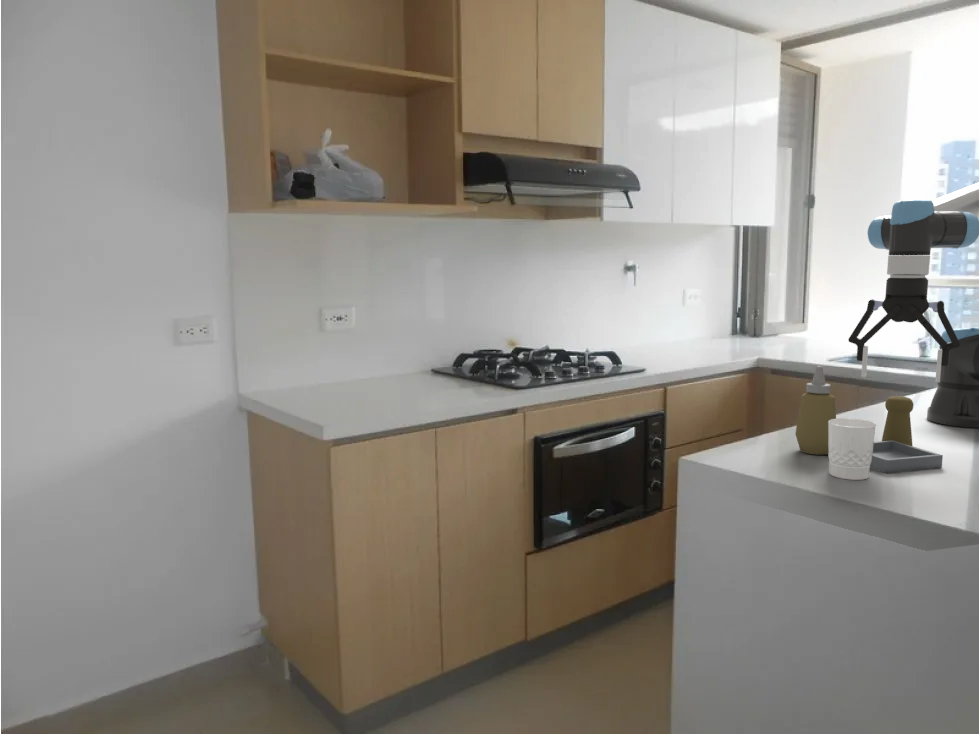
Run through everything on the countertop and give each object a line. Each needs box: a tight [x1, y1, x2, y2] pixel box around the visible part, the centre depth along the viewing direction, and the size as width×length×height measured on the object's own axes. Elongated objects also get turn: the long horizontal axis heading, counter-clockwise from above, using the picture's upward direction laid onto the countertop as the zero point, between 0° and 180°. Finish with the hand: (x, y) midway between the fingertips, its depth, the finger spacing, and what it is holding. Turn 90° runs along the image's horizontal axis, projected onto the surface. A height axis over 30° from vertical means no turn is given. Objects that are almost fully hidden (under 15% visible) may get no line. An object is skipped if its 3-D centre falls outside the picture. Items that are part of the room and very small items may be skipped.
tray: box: [870, 440, 944, 474], centre depth 148 cm, size 13×13×2 cm
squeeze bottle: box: [795, 365, 837, 456], centre depth 155 cm, size 8×8×18 cm
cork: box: [881, 395, 914, 447], centre depth 158 cm, size 6×6×11 cm
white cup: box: [827, 417, 877, 481], centre depth 139 cm, size 8×8×10 cm
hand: (899, 379), depth 157 cm, fingers open, 13 cm apart
